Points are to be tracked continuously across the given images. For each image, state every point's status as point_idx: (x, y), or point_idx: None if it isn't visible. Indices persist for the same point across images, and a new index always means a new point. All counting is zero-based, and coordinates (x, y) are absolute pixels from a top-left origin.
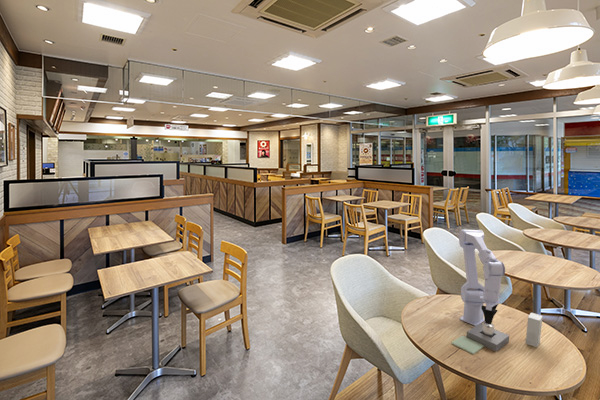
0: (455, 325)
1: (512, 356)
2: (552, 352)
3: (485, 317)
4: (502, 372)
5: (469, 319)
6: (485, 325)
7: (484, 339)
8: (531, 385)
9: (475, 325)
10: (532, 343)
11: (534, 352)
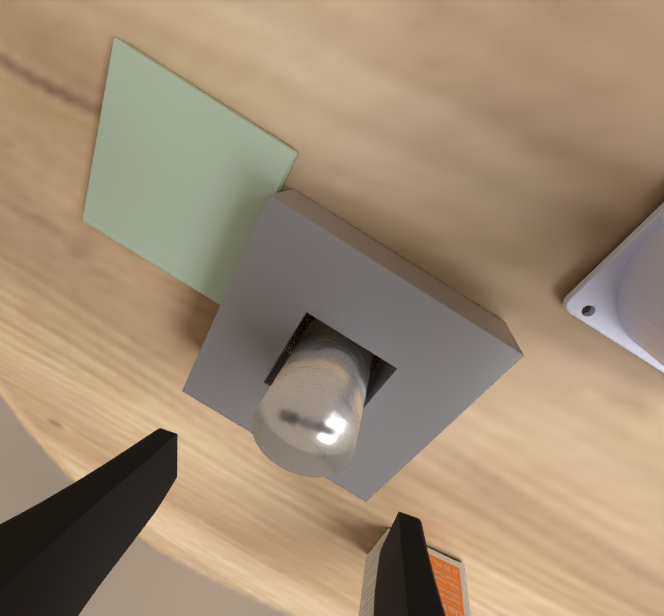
0: (534, 79)
1: (213, 425)
2: (348, 586)
3: (77, 496)
4: (41, 341)
5: (659, 258)
6: (265, 403)
7: (210, 328)
8: (40, 421)
9: (565, 301)
10: (373, 559)
11: (310, 526)
